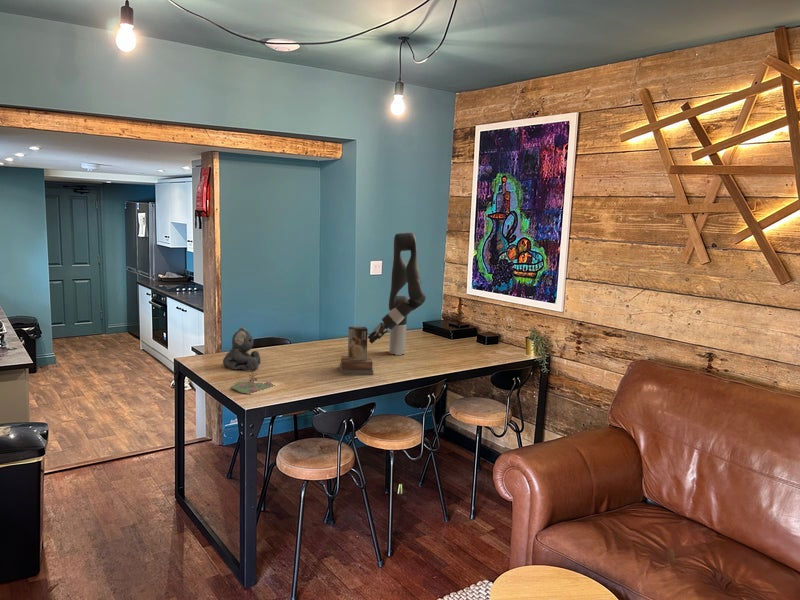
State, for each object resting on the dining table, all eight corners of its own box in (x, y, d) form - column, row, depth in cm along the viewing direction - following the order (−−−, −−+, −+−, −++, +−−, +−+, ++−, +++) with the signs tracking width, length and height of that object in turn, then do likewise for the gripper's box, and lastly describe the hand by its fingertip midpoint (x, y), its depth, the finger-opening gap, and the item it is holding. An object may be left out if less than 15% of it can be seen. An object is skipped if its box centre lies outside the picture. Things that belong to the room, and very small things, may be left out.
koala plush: (258, 371, 291) (258, 332, 288) (219, 371, 288) (220, 331, 285) (261, 362, 308) (261, 325, 305) (225, 362, 305) (225, 324, 302)
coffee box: (365, 357, 305) (366, 326, 302) (366, 360, 298) (368, 329, 296) (347, 357, 303) (348, 326, 301) (348, 360, 297) (349, 328, 294)
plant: (273, 378, 283) (274, 359, 281) (296, 389, 267) (296, 370, 266) (223, 386, 267) (223, 366, 265) (244, 398, 251) (244, 378, 250)
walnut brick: (340, 363, 306) (341, 356, 305) (370, 363, 308) (370, 356, 308) (341, 369, 294) (342, 361, 294) (372, 370, 296) (372, 362, 296)
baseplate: (339, 366, 307) (339, 363, 307) (370, 367, 309) (370, 363, 309) (340, 374, 293) (341, 370, 293) (373, 374, 296) (373, 370, 295)
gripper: (386, 310, 306) (363, 332, 306) (389, 315, 292) (365, 338, 292) (396, 321, 308) (373, 342, 308) (400, 326, 294) (375, 349, 294)
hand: (369, 340), depth 300 cm, fingers open, 8 cm apart
